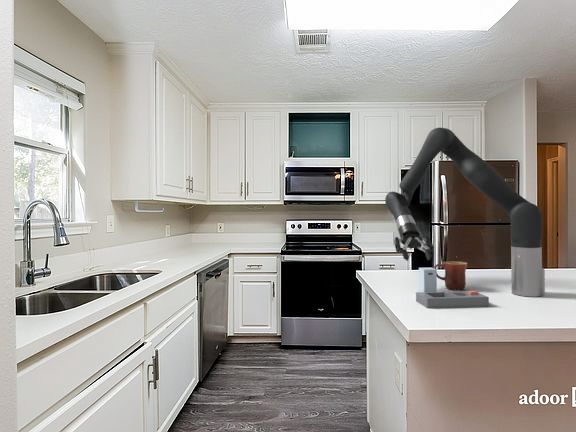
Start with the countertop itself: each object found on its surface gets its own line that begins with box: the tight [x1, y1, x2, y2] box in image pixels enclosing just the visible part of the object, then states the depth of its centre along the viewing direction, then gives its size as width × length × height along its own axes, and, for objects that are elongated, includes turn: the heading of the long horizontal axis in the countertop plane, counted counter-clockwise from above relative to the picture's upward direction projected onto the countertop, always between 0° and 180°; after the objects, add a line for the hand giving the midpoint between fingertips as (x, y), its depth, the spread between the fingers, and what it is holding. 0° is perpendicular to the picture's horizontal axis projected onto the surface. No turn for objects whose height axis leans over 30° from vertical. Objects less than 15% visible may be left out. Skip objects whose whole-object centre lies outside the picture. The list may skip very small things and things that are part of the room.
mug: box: [433, 260, 468, 291], centre depth 141 cm, size 12×9×10 cm
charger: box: [418, 267, 438, 292], centre depth 129 cm, size 4×5×10 cm
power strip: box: [415, 290, 490, 309], centre depth 119 cm, size 20×9×4 cm, turn 92°
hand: (418, 259), depth 137 cm, fingers open, 8 cm apart
